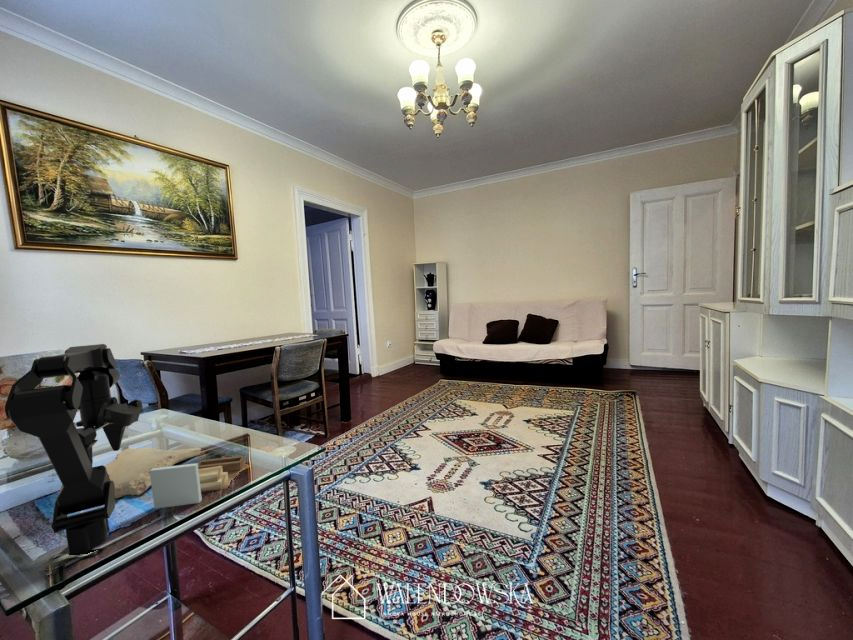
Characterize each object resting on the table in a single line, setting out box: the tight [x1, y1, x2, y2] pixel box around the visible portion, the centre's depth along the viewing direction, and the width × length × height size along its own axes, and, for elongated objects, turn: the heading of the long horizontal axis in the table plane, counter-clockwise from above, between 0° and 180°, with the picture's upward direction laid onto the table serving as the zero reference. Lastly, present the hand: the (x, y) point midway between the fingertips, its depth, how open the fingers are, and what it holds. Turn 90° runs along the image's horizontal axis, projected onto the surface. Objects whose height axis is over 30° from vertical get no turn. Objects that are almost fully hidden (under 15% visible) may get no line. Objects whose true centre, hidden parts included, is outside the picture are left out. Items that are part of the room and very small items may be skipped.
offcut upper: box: [198, 466, 223, 484], centre depth 94 cm, size 4×7×2 cm, turn 105°
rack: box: [197, 455, 247, 493], centre depth 98 cm, size 14×12×4 cm
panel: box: [150, 462, 203, 510], centre depth 86 cm, size 1×10×10 cm, turn 100°
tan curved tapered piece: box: [103, 446, 202, 499], centre depth 102 cm, size 24×8×20 cm
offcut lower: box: [200, 472, 228, 492], centre depth 94 cm, size 5×8×2 cm, turn 100°
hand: (103, 459), depth 86 cm, fingers open, 9 cm apart
